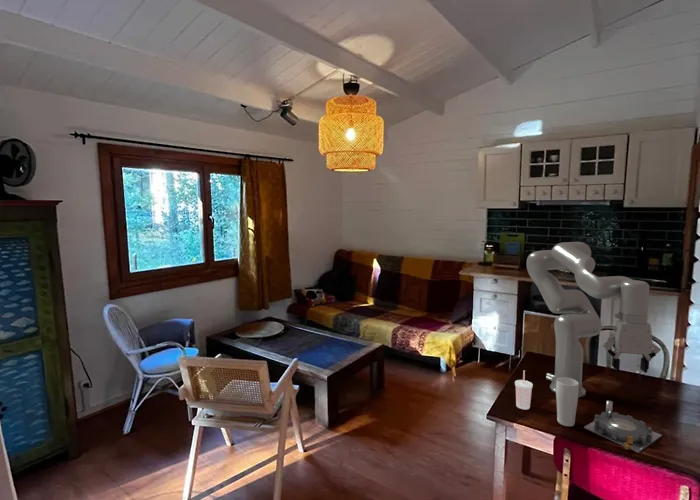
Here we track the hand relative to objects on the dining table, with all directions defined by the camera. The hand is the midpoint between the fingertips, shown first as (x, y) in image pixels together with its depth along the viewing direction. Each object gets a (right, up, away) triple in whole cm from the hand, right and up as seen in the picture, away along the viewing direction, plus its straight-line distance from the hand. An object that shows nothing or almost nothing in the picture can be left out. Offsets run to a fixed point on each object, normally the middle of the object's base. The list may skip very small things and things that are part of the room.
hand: (629, 369), depth 130 cm
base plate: (-3, -20, -1) cm, 20 cm away
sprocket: (-3, -20, -1) cm, 20 cm away
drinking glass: (-19, -20, +5) cm, 28 cm away
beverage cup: (-28, -19, +16) cm, 38 cm away
